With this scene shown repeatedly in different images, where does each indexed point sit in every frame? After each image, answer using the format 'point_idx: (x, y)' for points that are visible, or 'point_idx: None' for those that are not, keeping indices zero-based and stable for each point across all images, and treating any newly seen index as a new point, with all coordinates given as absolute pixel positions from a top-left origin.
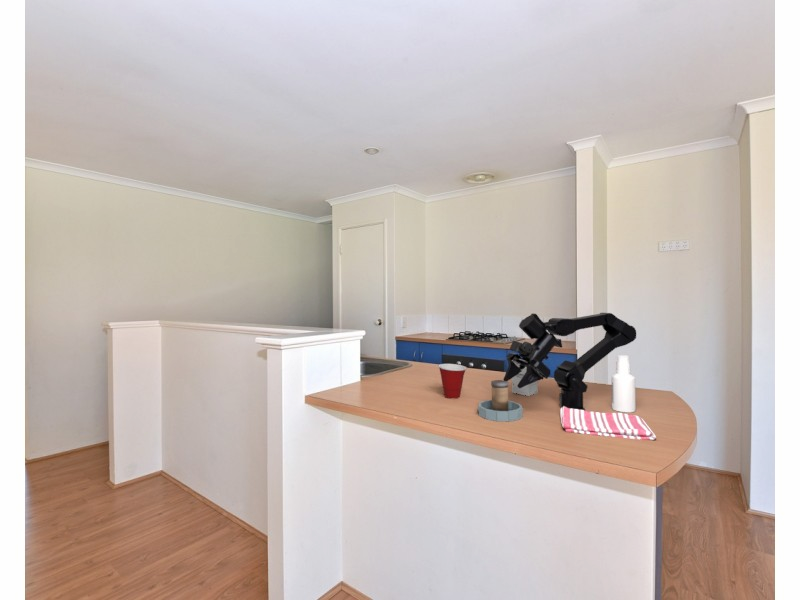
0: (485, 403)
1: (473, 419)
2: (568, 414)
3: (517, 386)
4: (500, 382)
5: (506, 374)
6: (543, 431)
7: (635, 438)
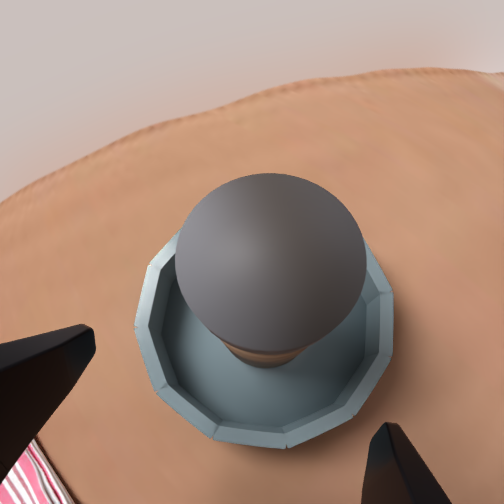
0: (376, 301)
1: None
2: (39, 499)
3: (91, 329)
4: (250, 242)
5: (407, 472)
6: (29, 301)
7: None
